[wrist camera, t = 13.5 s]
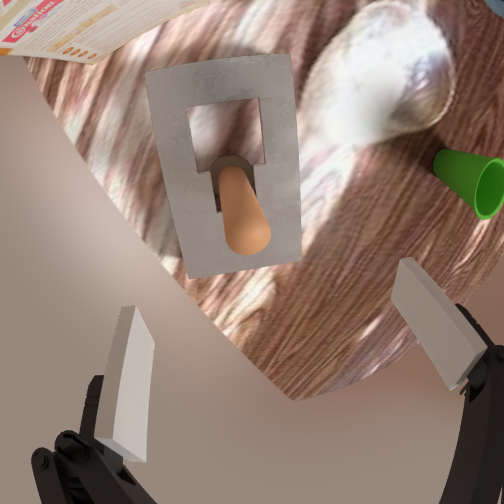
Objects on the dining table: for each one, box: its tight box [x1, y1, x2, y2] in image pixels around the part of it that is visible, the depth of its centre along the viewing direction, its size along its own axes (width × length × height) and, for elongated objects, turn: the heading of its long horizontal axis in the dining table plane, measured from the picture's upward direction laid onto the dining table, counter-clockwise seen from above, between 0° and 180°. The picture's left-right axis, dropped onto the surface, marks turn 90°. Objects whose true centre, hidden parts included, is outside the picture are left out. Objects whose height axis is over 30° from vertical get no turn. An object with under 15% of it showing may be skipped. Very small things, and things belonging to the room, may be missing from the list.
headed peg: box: [210, 154, 271, 255], centre depth 26 cm, size 5×5×15 cm
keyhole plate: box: [145, 54, 302, 279], centre depth 30 cm, size 24×14×4 cm, turn 6°
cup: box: [433, 149, 504, 220], centre depth 30 cm, size 9×9×11 cm
